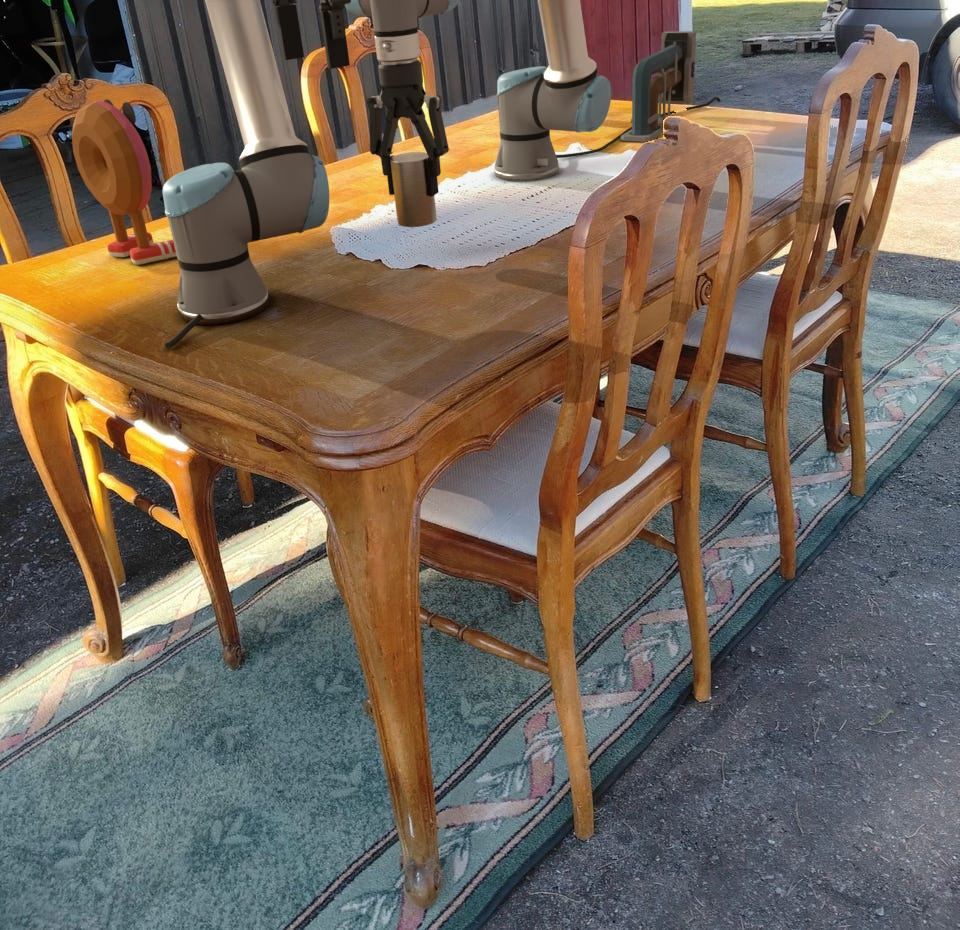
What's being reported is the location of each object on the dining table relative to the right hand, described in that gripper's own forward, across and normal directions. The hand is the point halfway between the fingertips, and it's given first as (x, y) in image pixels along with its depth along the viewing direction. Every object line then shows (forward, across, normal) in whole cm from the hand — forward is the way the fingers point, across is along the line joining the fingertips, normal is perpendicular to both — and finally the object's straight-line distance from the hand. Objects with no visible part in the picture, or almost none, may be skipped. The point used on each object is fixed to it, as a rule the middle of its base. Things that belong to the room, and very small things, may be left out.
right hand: (413, 193), depth 178 cm
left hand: (-29, +10, -43) cm, 53 cm away
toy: (+11, -57, -11) cm, 59 cm away
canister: (+5, 0, 0) cm, 5 cm away
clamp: (+12, +19, +109) cm, 111 cm away
